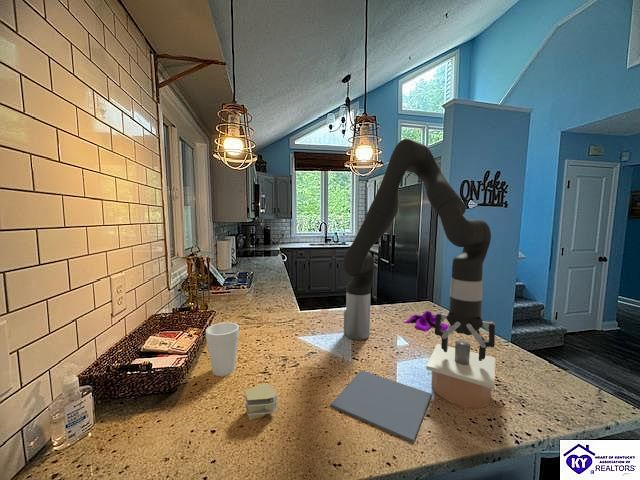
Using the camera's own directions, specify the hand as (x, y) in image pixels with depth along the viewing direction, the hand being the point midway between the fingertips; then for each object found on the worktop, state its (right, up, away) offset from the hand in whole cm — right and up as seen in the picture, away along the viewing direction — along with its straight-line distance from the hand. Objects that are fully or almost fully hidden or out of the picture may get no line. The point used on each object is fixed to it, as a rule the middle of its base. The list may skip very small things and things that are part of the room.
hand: (462, 355), depth 74 cm
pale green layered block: (-52, -11, -8) cm, 54 cm away
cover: (0, -3, 0) cm, 3 cm away
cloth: (+8, -6, +48) cm, 49 cm away
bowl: (0, -10, +1) cm, 10 cm away
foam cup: (-67, -9, +10) cm, 68 cm away
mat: (-22, -10, -4) cm, 25 cm away
